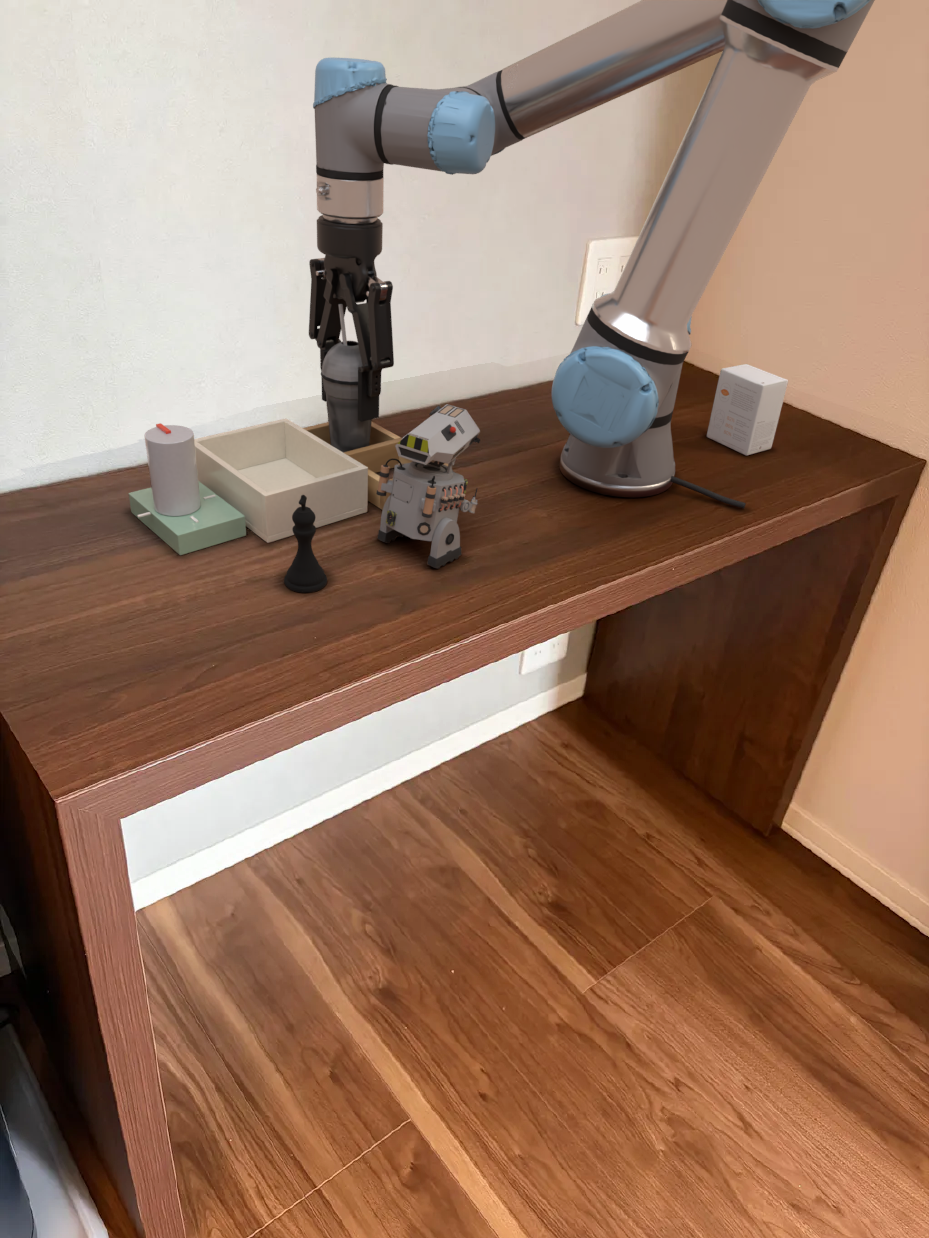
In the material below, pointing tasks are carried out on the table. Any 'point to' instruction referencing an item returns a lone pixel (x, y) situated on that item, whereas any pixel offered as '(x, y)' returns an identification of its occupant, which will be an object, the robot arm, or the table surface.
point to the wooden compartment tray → (370, 455)
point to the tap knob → (173, 469)
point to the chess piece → (304, 554)
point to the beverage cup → (344, 394)
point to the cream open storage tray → (281, 476)
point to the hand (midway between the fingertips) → (349, 408)
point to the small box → (746, 408)
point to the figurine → (429, 484)
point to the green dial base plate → (191, 521)
